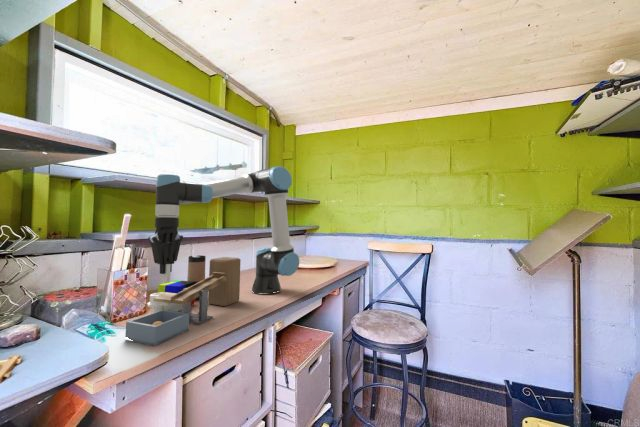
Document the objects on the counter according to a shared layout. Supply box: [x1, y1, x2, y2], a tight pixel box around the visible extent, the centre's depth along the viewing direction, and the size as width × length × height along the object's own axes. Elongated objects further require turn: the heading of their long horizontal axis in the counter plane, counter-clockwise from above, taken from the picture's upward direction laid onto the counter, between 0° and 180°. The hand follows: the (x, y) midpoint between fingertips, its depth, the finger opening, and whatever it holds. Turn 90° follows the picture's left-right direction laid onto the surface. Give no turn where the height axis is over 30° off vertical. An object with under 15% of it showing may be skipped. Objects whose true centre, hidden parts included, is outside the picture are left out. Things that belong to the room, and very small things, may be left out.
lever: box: [153, 272, 226, 305], centre depth 103 cm, size 22×14×3 cm, turn 162°
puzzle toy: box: [157, 279, 196, 312], centre depth 114 cm, size 10×10×10 cm
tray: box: [125, 310, 190, 347], centre depth 84 cm, size 13×12×6 cm
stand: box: [181, 287, 214, 326], centre depth 99 cm, size 7×11×11 cm, turn 72°
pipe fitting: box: [146, 292, 168, 313], centre depth 103 cm, size 6×7×8 cm
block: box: [208, 256, 242, 307], centre depth 121 cm, size 10×10×20 cm
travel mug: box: [186, 255, 207, 301], centre depth 127 cm, size 8×8×20 cm
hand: (165, 282), depth 96 cm, fingers closed
